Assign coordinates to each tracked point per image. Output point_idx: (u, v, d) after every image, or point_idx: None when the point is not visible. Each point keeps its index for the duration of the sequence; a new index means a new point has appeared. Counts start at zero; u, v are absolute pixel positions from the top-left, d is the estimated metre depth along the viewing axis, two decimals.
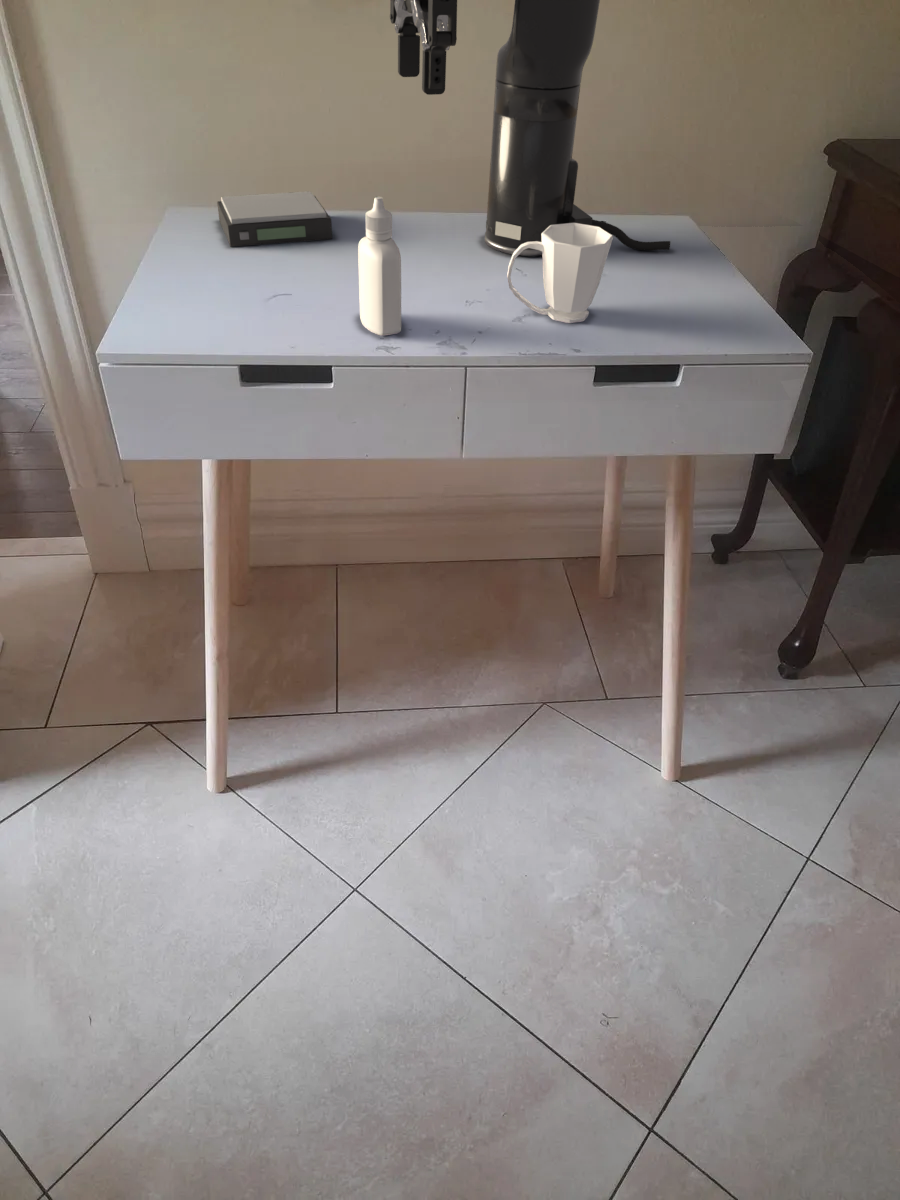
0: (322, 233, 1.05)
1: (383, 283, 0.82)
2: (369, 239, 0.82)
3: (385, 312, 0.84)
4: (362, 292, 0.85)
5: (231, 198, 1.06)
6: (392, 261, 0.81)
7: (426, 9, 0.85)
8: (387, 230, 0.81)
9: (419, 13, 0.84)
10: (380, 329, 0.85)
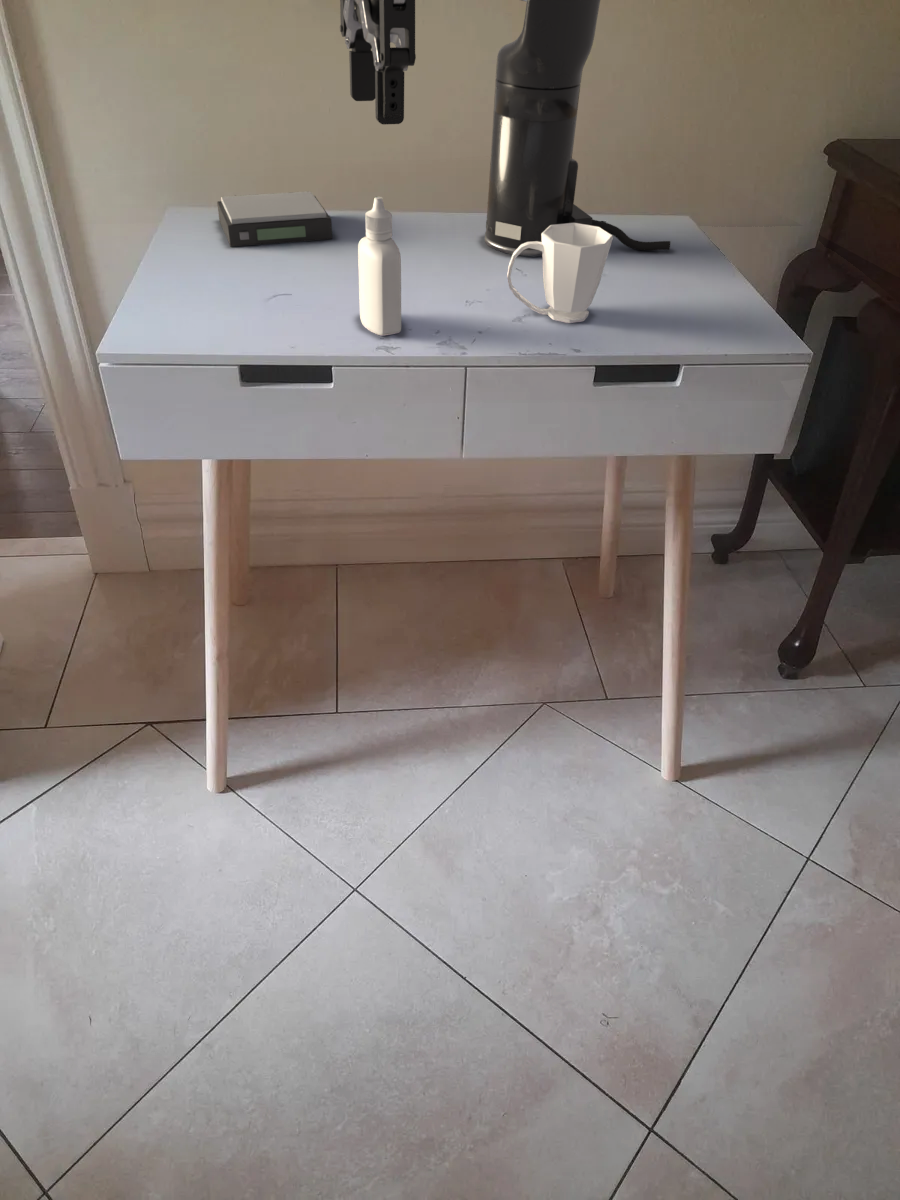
0: (322, 233, 1.05)
1: (383, 283, 0.82)
2: (369, 239, 0.82)
3: (385, 312, 0.84)
4: (362, 292, 0.85)
5: (231, 198, 1.06)
6: (392, 261, 0.81)
7: (379, 20, 0.69)
8: (387, 230, 0.81)
9: (370, 25, 0.68)
10: (380, 329, 0.85)
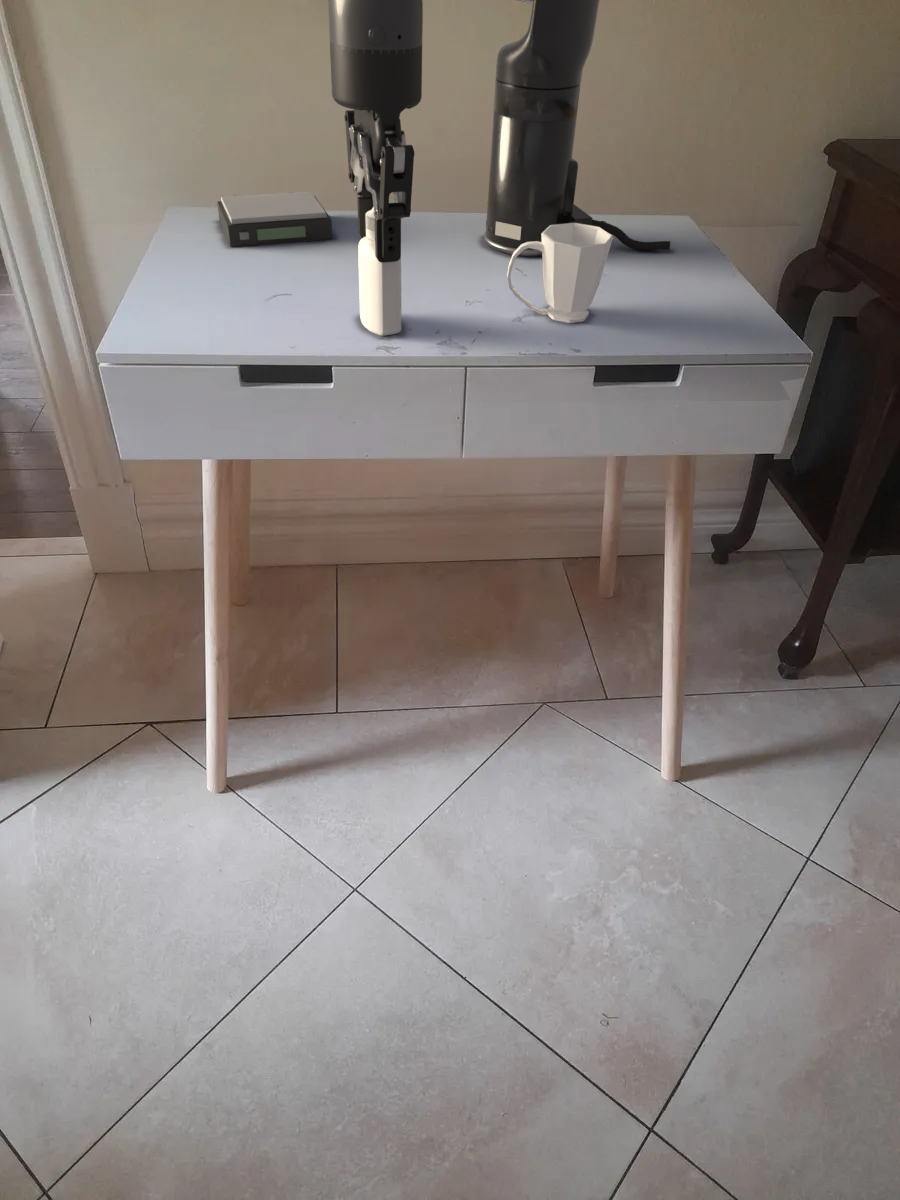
0: (322, 233, 1.05)
1: (383, 283, 0.82)
2: (369, 239, 0.82)
3: (385, 312, 0.84)
4: (362, 292, 0.85)
5: (231, 198, 1.06)
6: None
7: None
8: None
9: (371, 181, 0.76)
10: (380, 329, 0.85)
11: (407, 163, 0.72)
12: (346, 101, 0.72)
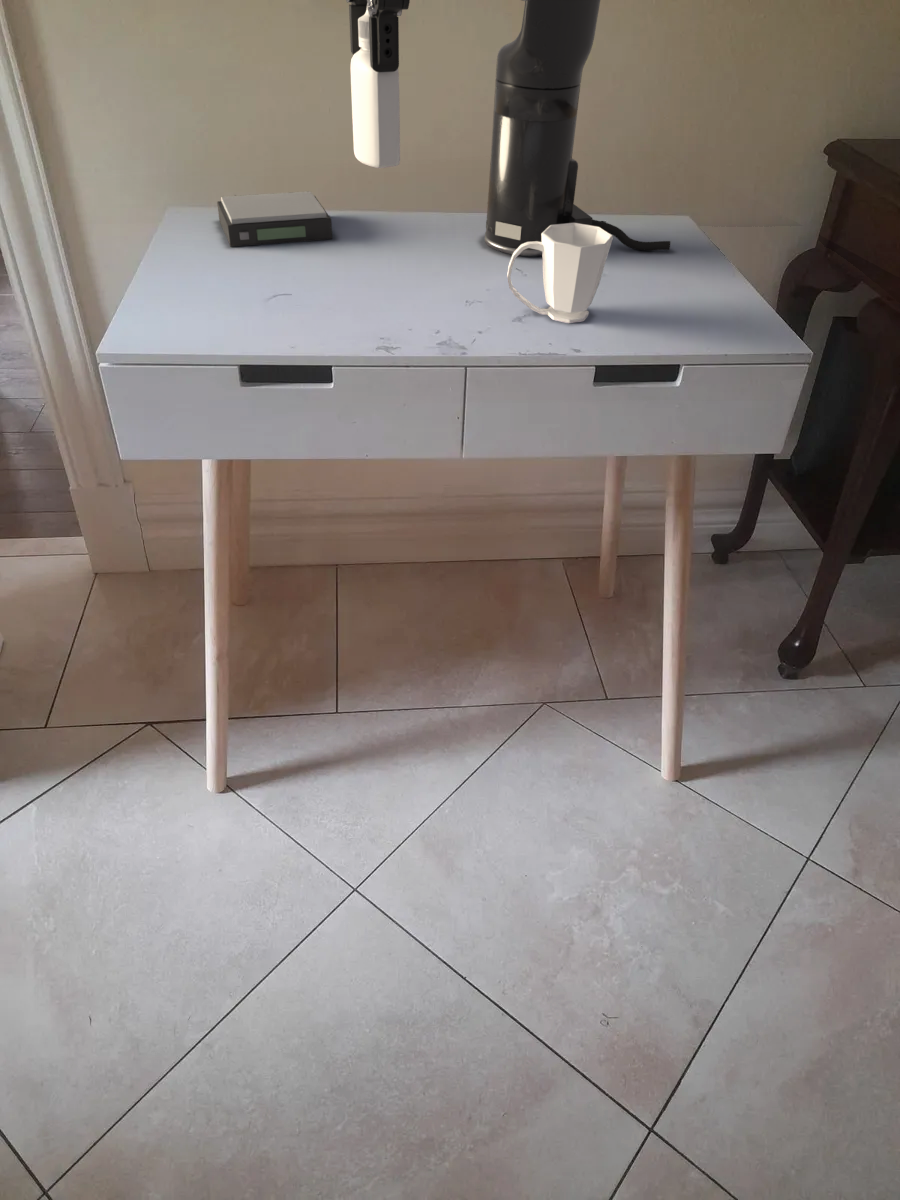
0: (322, 233, 1.05)
1: (379, 100, 0.73)
2: (363, 50, 0.72)
3: (382, 137, 0.75)
4: (356, 118, 0.76)
5: (231, 198, 1.06)
6: (389, 73, 0.72)
7: None
8: None
9: None
10: (377, 159, 0.76)
11: None
12: None
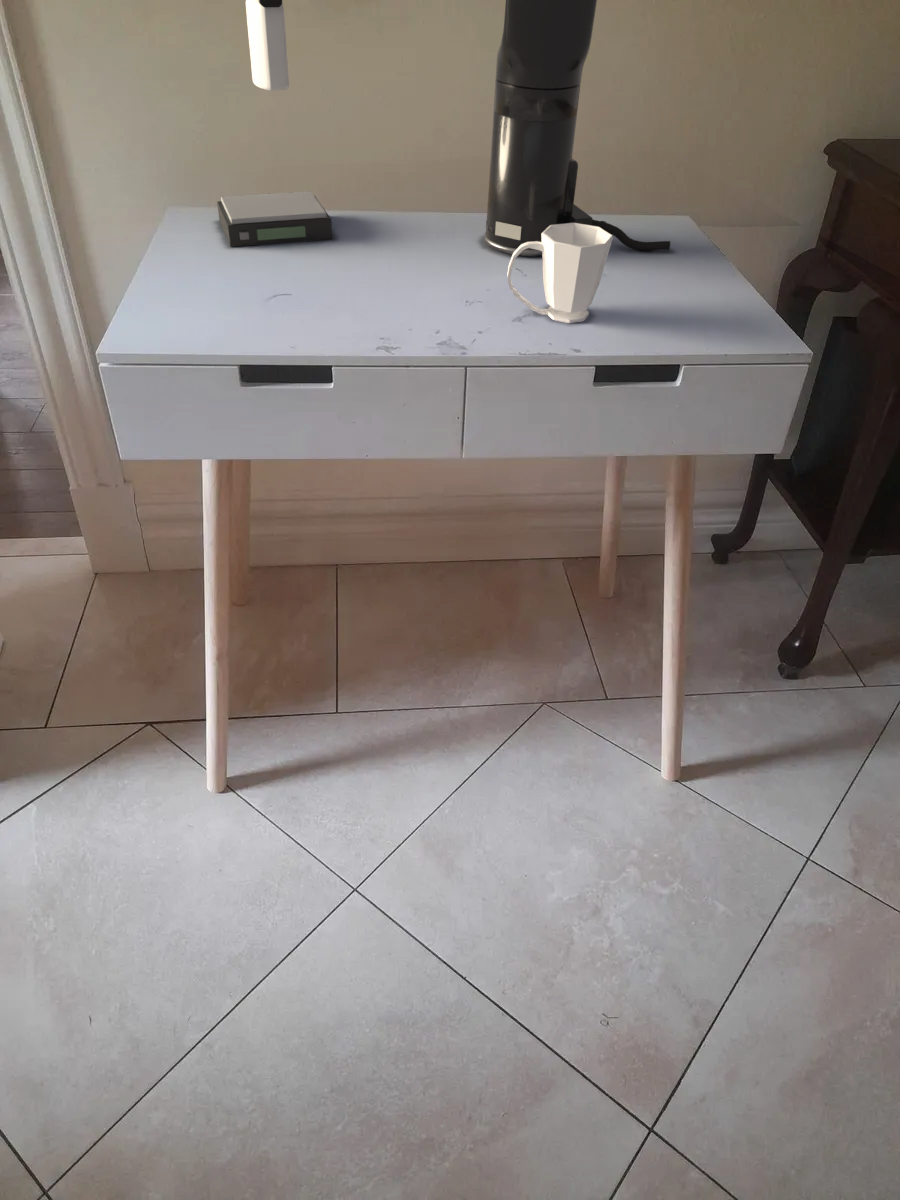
0: (322, 233, 1.05)
1: (267, 32, 0.89)
2: None
3: (271, 63, 0.91)
4: (251, 48, 0.92)
5: (231, 198, 1.06)
6: (274, 9, 0.88)
7: None
8: None
9: None
10: (268, 83, 0.92)
11: None
12: None
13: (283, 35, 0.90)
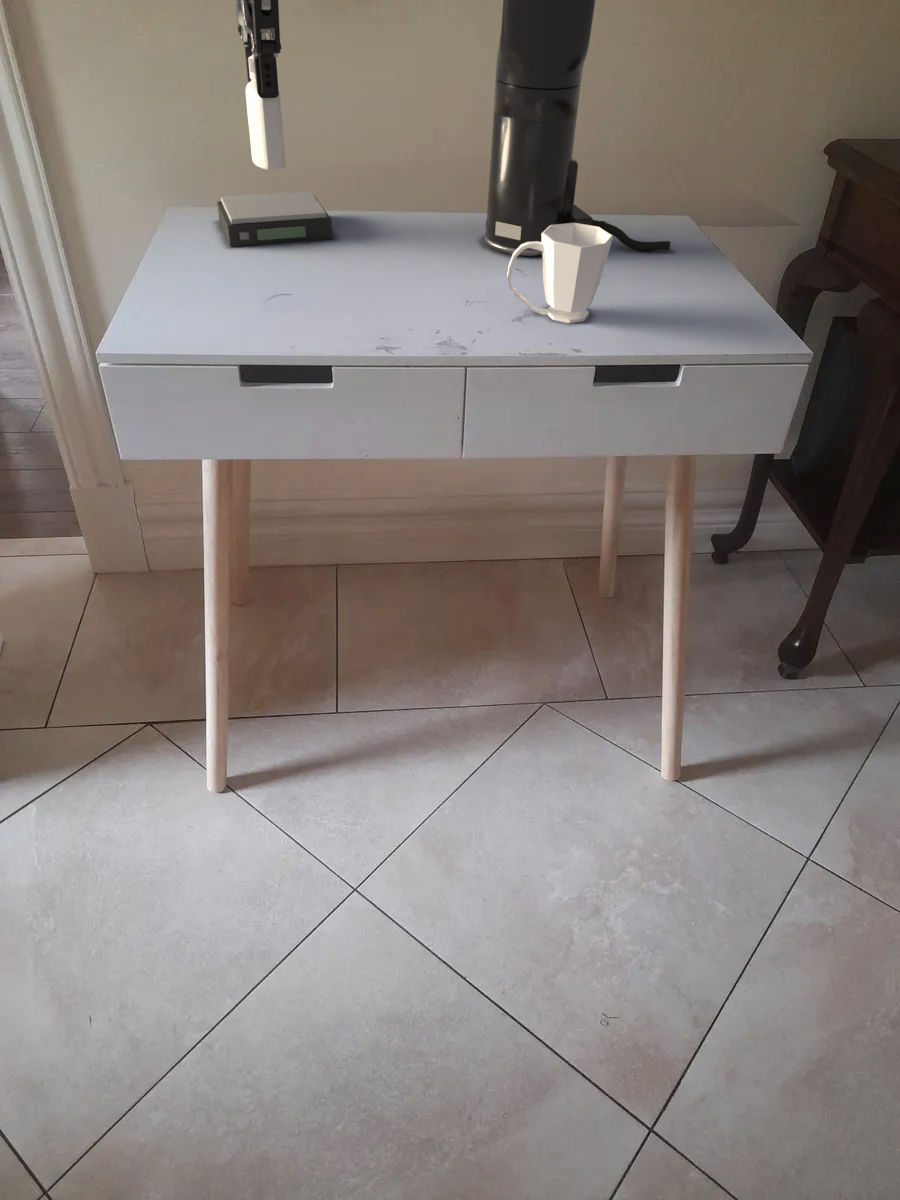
0: (322, 233, 1.05)
1: (265, 119, 0.97)
2: (252, 81, 0.96)
3: (269, 146, 0.98)
4: (250, 131, 0.99)
5: (231, 198, 1.06)
6: (271, 99, 0.96)
7: None
8: None
9: (248, 22, 0.90)
10: (266, 163, 1.00)
11: (272, 0, 0.87)
12: None
13: (279, 121, 0.98)
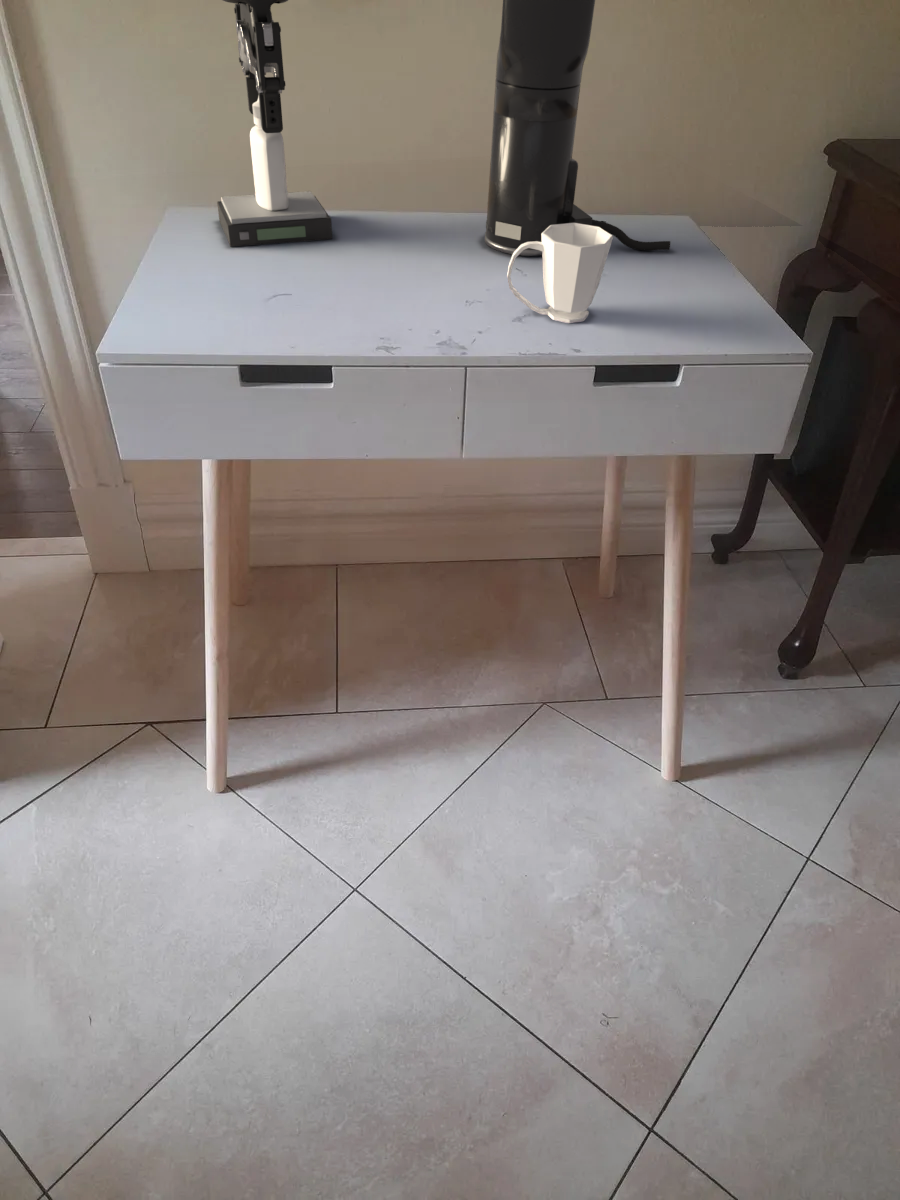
0: (322, 233, 1.05)
1: (269, 162, 1.00)
2: (256, 126, 0.99)
3: (272, 188, 1.01)
4: (254, 173, 1.02)
5: (231, 198, 1.06)
6: (274, 143, 0.99)
7: None
8: None
9: (252, 60, 0.92)
10: (269, 204, 1.03)
11: (275, 35, 0.89)
12: None
13: (283, 164, 1.00)
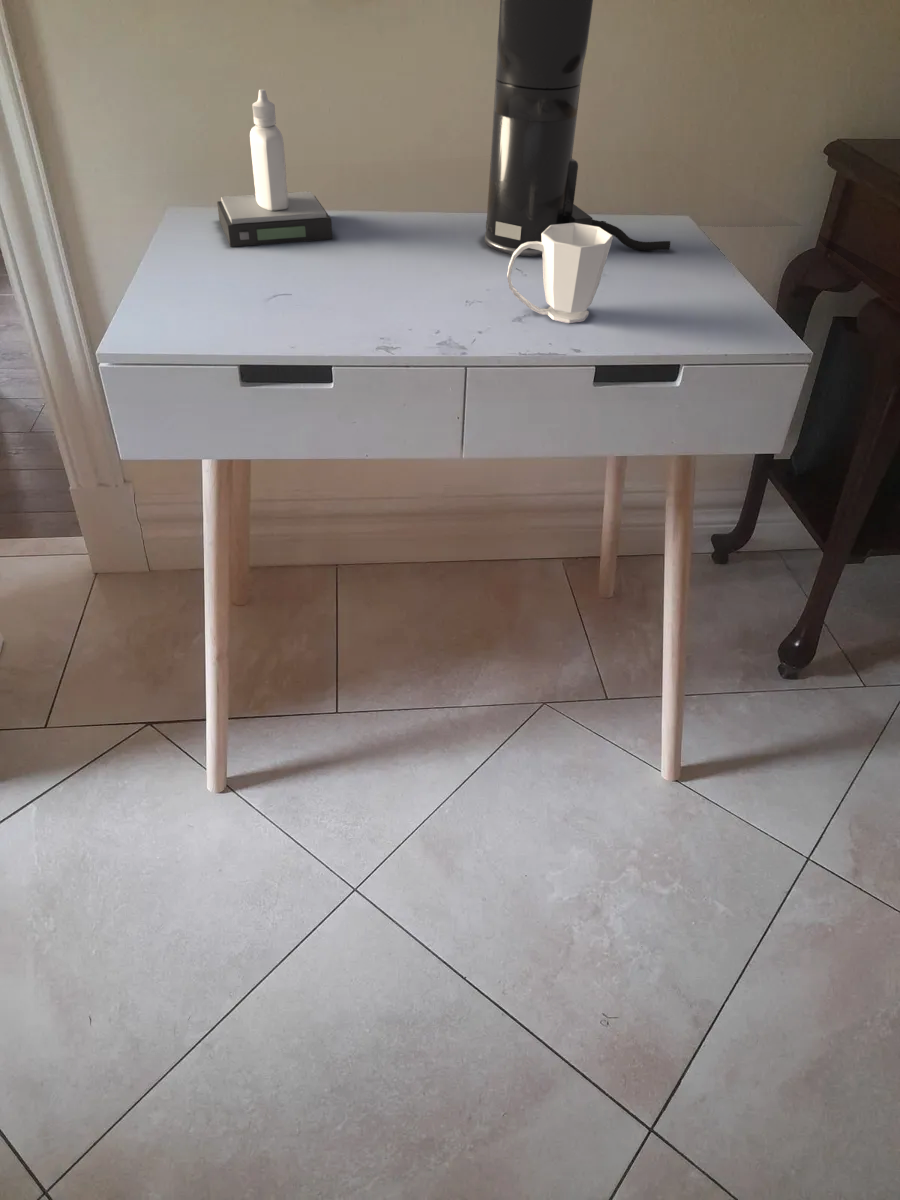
0: (322, 233, 1.05)
1: (269, 162, 1.00)
2: (256, 126, 0.99)
3: (272, 188, 1.01)
4: (254, 173, 1.02)
5: (231, 198, 1.06)
6: (274, 143, 0.99)
7: None
8: (270, 118, 0.98)
9: None
10: (269, 204, 1.03)
11: None
12: None
13: (283, 164, 1.00)
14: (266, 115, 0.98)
